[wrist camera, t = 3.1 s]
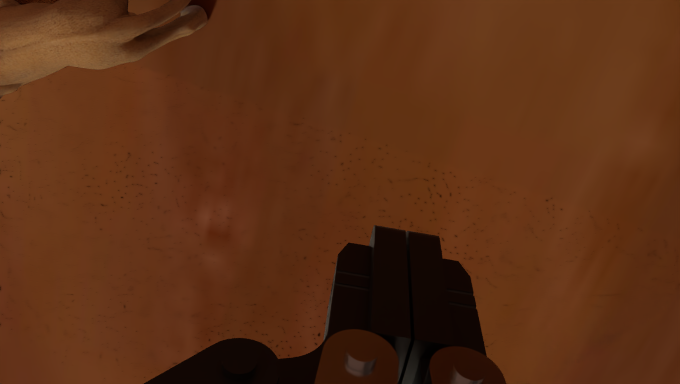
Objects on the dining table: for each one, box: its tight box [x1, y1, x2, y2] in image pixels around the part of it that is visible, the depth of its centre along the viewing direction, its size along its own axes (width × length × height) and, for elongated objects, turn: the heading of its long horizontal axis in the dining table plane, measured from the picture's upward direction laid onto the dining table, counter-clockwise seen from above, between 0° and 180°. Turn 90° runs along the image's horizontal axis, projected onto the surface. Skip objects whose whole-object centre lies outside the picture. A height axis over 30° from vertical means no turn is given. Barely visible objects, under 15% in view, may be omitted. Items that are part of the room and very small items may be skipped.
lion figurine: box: [0, 0, 207, 99], centre depth 19 cm, size 12×4×7 cm, turn 114°
